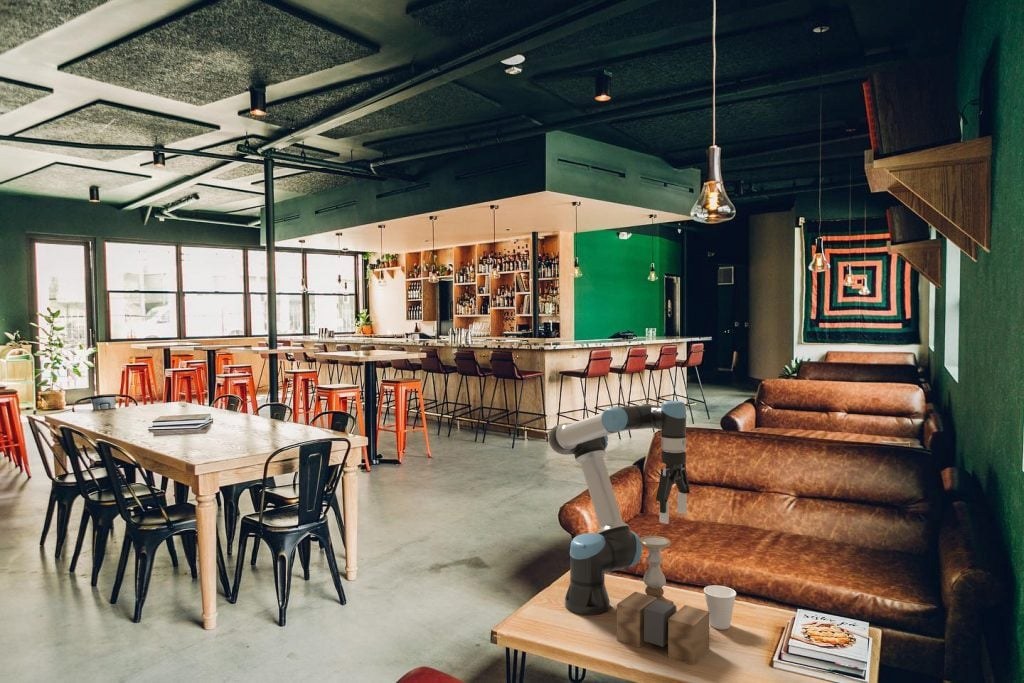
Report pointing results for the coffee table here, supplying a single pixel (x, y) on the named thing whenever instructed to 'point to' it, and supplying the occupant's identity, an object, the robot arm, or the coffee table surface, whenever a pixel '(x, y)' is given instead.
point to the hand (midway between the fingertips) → (673, 518)
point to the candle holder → (655, 567)
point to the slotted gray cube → (657, 622)
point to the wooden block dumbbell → (683, 628)
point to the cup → (720, 605)
